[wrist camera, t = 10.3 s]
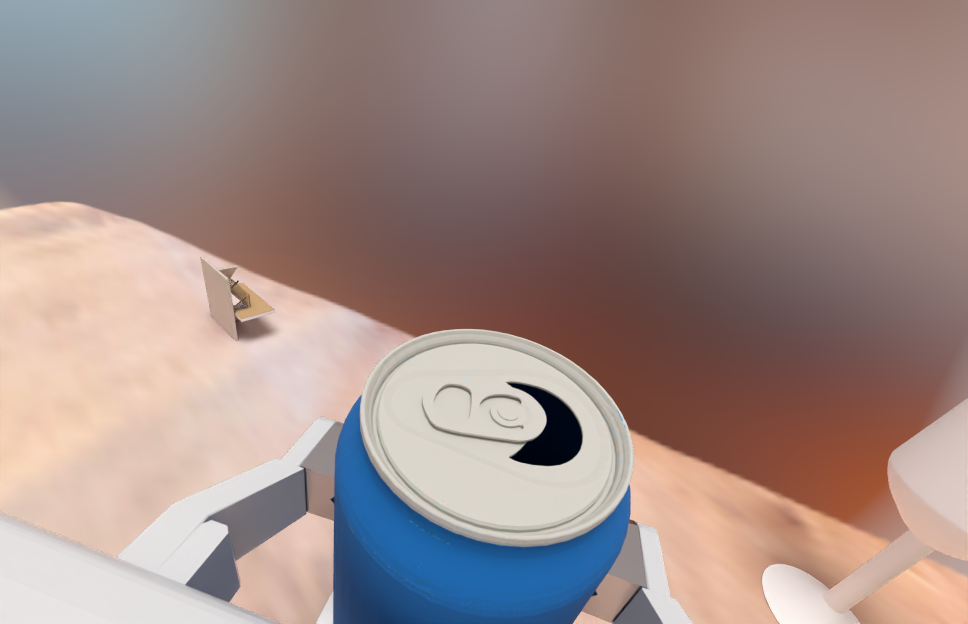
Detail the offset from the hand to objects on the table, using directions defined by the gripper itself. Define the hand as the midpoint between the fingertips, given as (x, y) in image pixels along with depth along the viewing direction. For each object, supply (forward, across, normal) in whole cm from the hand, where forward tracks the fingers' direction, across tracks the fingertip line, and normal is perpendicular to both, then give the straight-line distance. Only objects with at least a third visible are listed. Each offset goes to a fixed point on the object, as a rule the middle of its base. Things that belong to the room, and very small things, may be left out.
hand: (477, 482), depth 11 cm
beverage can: (-1, 0, -8) cm, 8 cm away
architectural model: (+21, -29, -17) cm, 40 cm away
